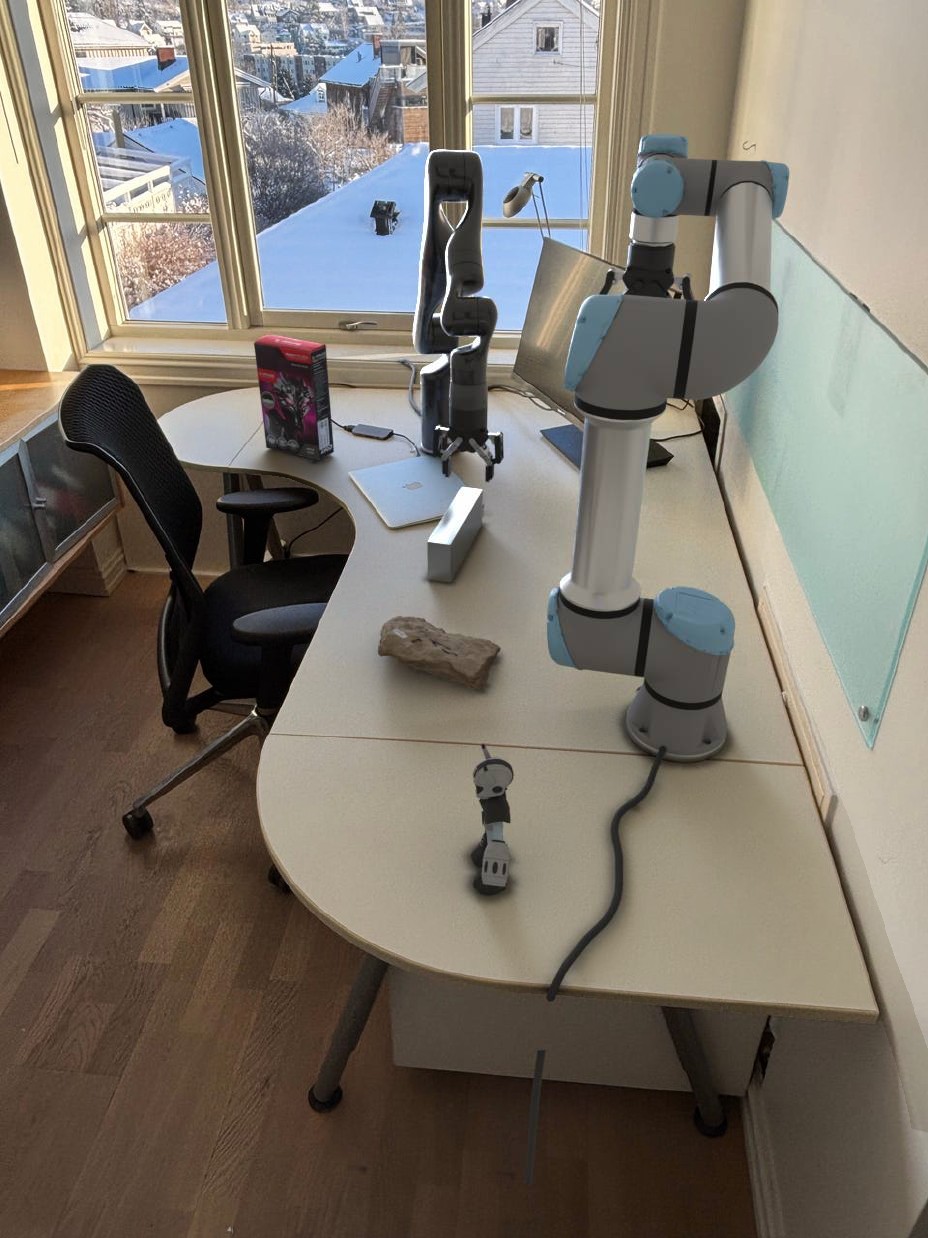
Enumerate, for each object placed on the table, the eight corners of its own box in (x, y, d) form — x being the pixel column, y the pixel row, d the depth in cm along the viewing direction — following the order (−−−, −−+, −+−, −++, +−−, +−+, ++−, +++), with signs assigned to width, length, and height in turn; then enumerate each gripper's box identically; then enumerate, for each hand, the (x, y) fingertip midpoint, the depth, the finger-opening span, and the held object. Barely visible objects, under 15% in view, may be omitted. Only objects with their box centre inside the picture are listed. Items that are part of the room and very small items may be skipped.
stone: (354, 663, 151) (360, 631, 149) (385, 632, 165) (392, 602, 162) (474, 706, 148) (483, 673, 145) (496, 671, 161) (504, 640, 159)
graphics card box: (263, 448, 231) (250, 340, 216) (280, 439, 236) (269, 332, 221) (320, 462, 224) (310, 351, 209) (336, 452, 230) (328, 343, 214)
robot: (515, 932, 112) (522, 815, 100) (475, 934, 111) (478, 816, 100) (502, 814, 128) (507, 701, 117) (467, 815, 128) (468, 702, 117)
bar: (450, 582, 179) (450, 544, 174) (427, 579, 180) (427, 541, 175) (482, 524, 199) (482, 489, 194) (461, 522, 200) (461, 486, 195)
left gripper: (508, 399, 182) (505, 475, 191) (439, 392, 185) (439, 467, 194) (499, 412, 176) (497, 490, 184) (428, 405, 179) (429, 481, 188)
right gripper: (732, 241, 150) (711, 370, 162) (580, 231, 156) (571, 356, 167) (730, 251, 144) (709, 384, 156) (572, 240, 150) (563, 369, 161)
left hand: (467, 478), depth 189 cm, fingers open, 8 cm apart
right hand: (637, 370), depth 161 cm, fingers open, 13 cm apart
